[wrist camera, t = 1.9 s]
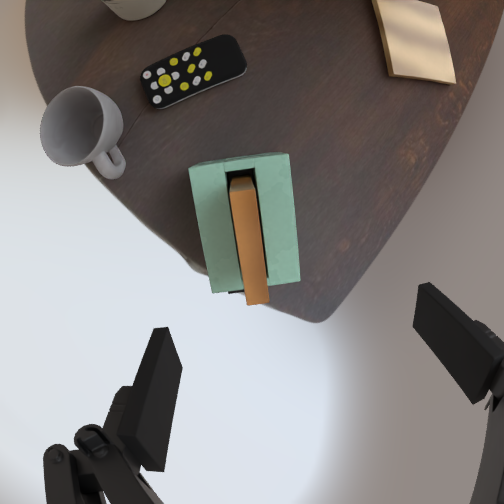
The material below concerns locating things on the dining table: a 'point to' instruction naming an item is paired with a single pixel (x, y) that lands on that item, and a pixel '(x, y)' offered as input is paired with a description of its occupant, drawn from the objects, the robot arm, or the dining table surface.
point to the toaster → (269, 209)
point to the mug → (83, 130)
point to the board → (414, 40)
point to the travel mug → (134, 8)
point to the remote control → (193, 71)
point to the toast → (249, 239)
